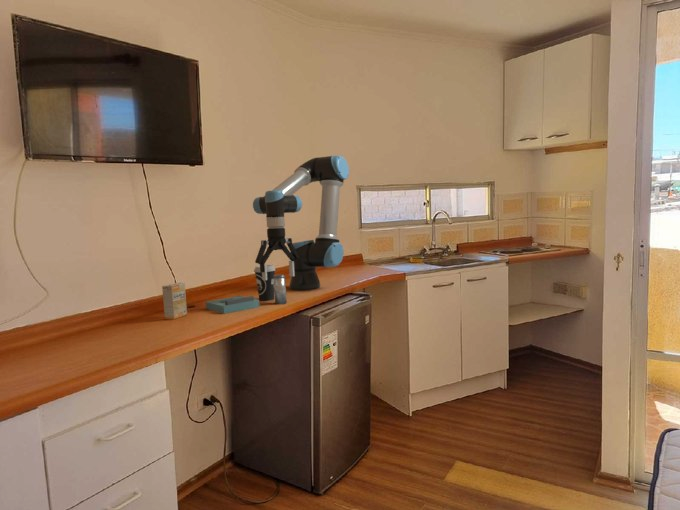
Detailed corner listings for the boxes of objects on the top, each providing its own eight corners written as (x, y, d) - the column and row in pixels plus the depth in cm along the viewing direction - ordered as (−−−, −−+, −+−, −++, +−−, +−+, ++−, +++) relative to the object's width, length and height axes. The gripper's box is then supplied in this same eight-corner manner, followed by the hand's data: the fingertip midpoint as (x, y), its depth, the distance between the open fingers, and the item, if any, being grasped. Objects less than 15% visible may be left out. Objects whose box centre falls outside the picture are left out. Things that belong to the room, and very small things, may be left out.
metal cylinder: (282, 301, 224) (280, 274, 223) (288, 302, 220) (287, 274, 219) (273, 303, 221) (271, 275, 220) (279, 304, 217) (277, 276, 216)
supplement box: (174, 319, 199) (171, 286, 198) (164, 319, 201) (161, 285, 200) (188, 315, 207) (185, 282, 206) (178, 314, 209) (175, 282, 207)
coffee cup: (273, 301, 226) (271, 267, 224) (252, 301, 228) (250, 267, 226) (280, 297, 235) (278, 264, 234) (260, 297, 237) (258, 264, 236)
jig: (240, 302, 228) (239, 292, 227) (259, 306, 215) (258, 295, 215) (206, 308, 217) (205, 298, 217) (224, 313, 205) (223, 302, 205)
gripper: (295, 226, 228) (297, 274, 230) (245, 229, 212) (248, 280, 214) (305, 225, 223) (307, 275, 224) (254, 229, 207) (257, 282, 209)
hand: (278, 278), depth 219 cm, fingers open, 13 cm apart
